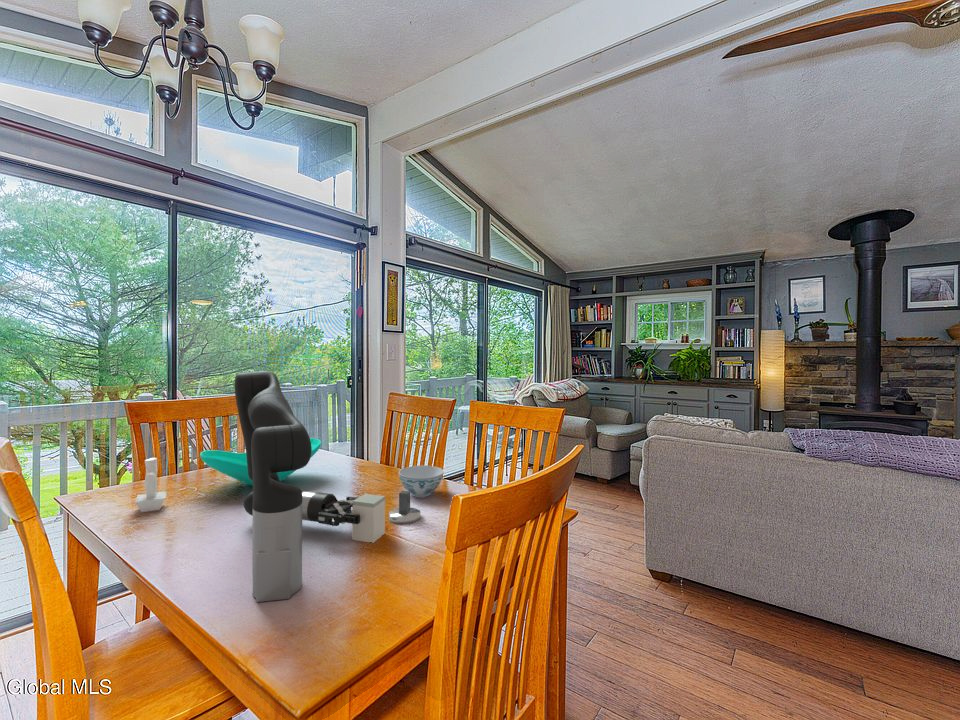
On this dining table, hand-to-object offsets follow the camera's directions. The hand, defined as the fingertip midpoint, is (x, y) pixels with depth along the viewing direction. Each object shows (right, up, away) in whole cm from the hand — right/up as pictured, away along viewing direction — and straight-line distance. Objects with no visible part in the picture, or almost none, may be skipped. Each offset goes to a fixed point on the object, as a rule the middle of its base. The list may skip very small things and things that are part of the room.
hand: (368, 513), depth 117 cm
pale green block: (0, -6, 0) cm, 6 cm away
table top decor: (-47, -4, +43) cm, 64 cm away
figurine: (-69, -5, +17) cm, 71 cm away
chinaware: (+9, -5, +34) cm, 36 cm away
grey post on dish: (+7, -6, +13) cm, 16 cm away
